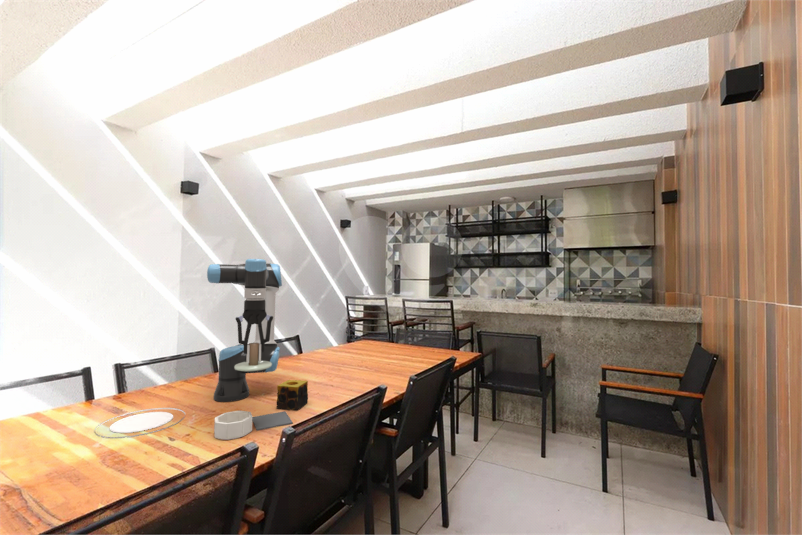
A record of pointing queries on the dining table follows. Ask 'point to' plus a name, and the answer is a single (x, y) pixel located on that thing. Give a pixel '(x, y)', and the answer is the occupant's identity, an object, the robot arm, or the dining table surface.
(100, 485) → the dining table surface
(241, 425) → the bowl
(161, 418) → the plate
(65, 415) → the dining table surface
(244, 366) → the lid
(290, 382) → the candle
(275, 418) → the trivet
